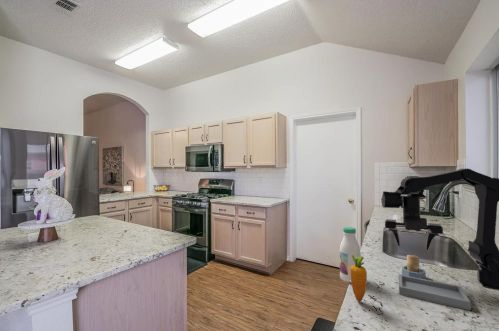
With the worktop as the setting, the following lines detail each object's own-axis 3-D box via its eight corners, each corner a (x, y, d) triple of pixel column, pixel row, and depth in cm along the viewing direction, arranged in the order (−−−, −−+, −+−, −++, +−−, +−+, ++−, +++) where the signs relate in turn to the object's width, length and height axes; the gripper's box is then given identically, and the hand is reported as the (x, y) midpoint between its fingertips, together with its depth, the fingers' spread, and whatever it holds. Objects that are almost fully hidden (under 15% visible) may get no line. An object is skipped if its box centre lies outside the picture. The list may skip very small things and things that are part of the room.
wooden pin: (419, 276, 92) (418, 256, 92) (420, 280, 89) (419, 259, 89) (407, 273, 94) (406, 254, 95) (407, 277, 91) (407, 257, 91)
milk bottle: (360, 276, 92) (358, 226, 93) (362, 285, 85) (361, 230, 86) (339, 273, 95) (338, 225, 95) (340, 282, 87) (339, 229, 88)
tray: (461, 293, 78) (461, 286, 78) (470, 310, 69) (470, 302, 69) (398, 280, 88) (398, 274, 88) (399, 294, 78) (399, 286, 78)
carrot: (347, 298, 76) (346, 252, 76) (361, 297, 76) (360, 252, 77) (355, 306, 71) (354, 258, 72) (371, 306, 71) (369, 257, 72)
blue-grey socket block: (424, 275, 93) (424, 268, 93) (426, 283, 86) (426, 274, 86) (401, 271, 97) (401, 264, 97) (402, 278, 90) (402, 270, 90)
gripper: (383, 209, 91) (384, 249, 90) (444, 213, 81) (446, 258, 80) (385, 206, 100) (386, 242, 100) (439, 209, 90) (441, 249, 89)
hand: (412, 247), depth 92 cm, fingers open, 9 cm apart
